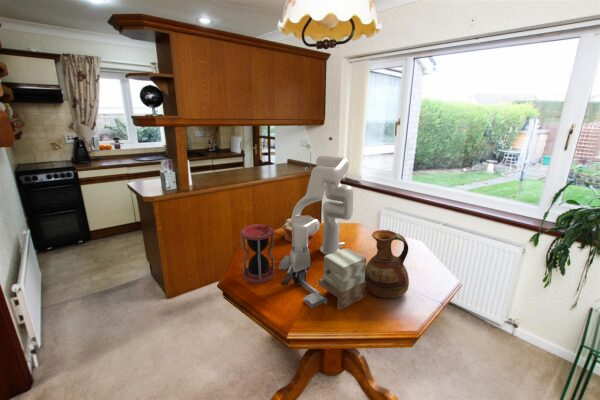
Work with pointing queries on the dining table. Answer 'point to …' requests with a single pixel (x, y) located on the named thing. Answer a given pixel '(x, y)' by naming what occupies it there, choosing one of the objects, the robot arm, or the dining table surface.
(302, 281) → the hammer
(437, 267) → the dining table surface
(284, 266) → the cleaver
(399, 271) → the ceramic pitcher
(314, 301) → the rectangular block
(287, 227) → the tan rock
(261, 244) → the hourglass
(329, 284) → the cabinet
